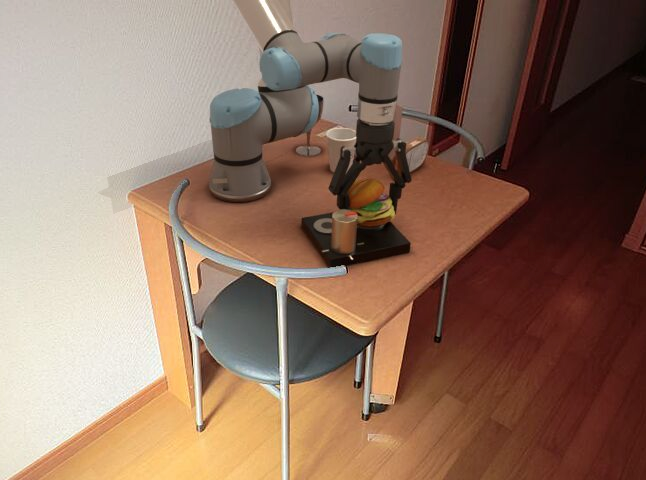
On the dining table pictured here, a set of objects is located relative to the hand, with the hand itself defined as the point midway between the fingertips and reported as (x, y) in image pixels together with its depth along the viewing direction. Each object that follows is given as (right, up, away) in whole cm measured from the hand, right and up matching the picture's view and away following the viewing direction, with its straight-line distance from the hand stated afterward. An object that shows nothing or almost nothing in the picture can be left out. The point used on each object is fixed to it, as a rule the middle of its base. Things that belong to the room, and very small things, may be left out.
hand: (367, 216), depth 121 cm
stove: (-3, -5, -2) cm, 6 cm away
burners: (-4, -1, -1) cm, 4 cm away
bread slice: (+13, +14, +27) cm, 33 cm away
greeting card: (+5, +19, +34) cm, 39 cm away
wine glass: (-14, +22, +36) cm, 44 cm away
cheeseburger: (0, -1, 0) cm, 1 cm away
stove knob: (-6, -7, -9) cm, 13 cm away
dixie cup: (-5, +15, +27) cm, 31 cm away
